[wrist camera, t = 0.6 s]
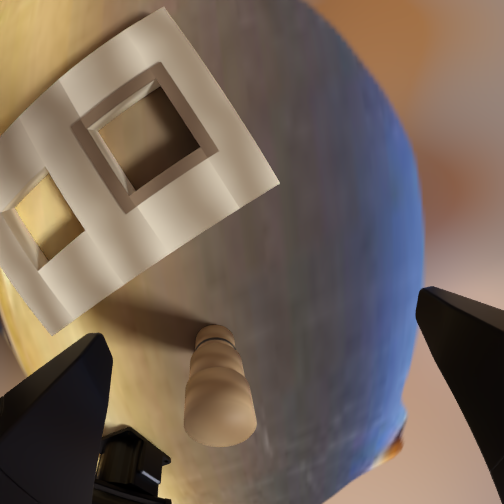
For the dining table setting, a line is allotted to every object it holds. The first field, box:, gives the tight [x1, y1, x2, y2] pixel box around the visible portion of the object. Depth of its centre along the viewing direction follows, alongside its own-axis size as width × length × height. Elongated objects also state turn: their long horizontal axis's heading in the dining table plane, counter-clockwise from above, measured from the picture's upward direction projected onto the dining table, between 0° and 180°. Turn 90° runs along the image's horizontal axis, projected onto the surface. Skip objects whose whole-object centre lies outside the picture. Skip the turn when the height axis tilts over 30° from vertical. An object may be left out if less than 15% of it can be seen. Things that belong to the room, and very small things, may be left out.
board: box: [0, 7, 280, 336], centre depth 18 cm, size 20×14×2 cm
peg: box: [184, 325, 257, 447], centre depth 20 cm, size 4×4×9 cm
